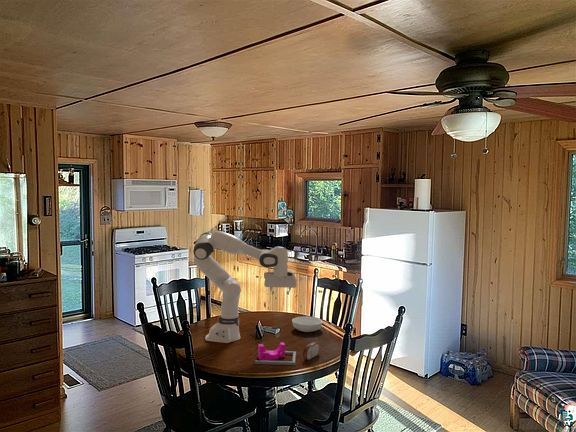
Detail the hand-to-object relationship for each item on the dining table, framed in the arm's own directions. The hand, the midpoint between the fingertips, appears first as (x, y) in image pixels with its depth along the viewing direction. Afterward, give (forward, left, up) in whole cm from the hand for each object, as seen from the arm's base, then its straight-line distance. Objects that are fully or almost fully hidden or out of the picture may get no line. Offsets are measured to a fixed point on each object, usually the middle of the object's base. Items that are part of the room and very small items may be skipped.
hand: (280, 294), depth 272 cm
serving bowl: (+17, +28, -31) cm, 45 cm away
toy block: (-3, -24, -32) cm, 40 cm away
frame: (-1, -26, -31) cm, 41 cm away
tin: (+20, -22, -31) cm, 43 cm away
